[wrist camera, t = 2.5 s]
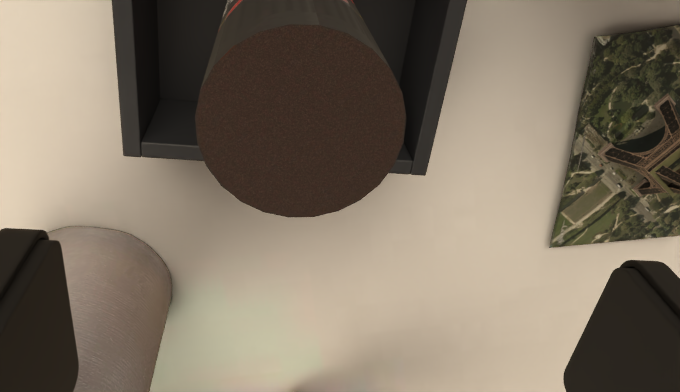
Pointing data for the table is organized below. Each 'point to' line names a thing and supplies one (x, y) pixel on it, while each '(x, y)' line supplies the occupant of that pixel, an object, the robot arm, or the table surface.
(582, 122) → the eiffel tower figurine
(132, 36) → the bin
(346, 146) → the deodorant
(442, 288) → the table surface
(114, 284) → the pillar candle
